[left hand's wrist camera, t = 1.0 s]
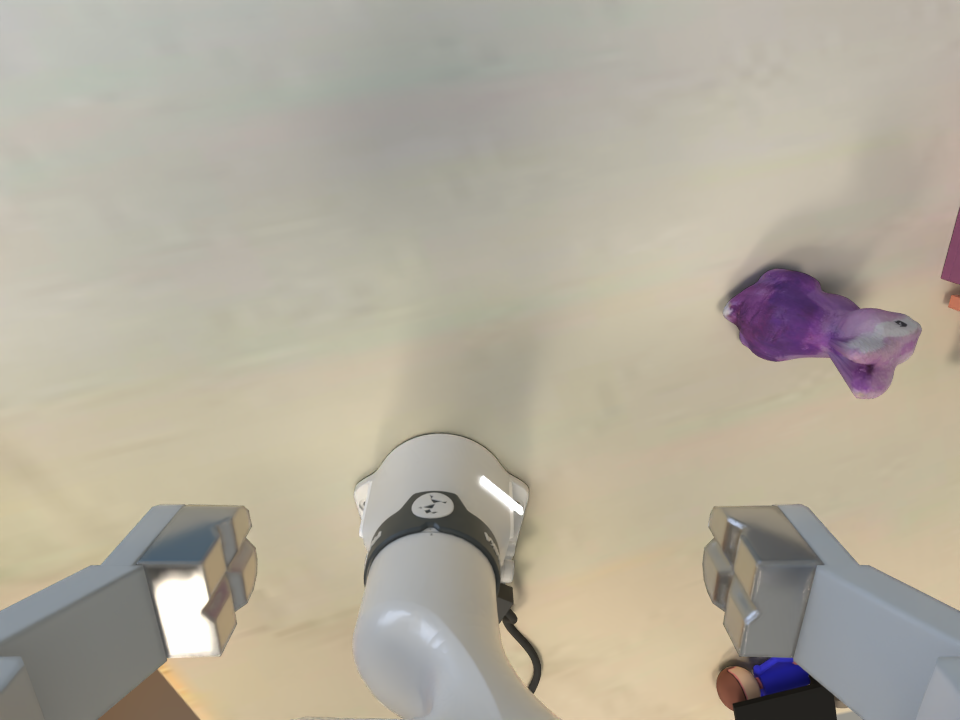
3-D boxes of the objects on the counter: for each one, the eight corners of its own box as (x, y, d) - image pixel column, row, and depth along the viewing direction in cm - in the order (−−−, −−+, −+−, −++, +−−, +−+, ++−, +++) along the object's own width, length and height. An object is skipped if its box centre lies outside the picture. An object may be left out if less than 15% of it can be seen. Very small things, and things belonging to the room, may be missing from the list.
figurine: (855, 304, 56) (979, 361, 42) (764, 372, 59) (853, 447, 45) (802, 231, 54) (915, 267, 40) (709, 305, 56) (785, 363, 42)
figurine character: (821, 621, 72) (705, 659, 72) (865, 672, 65) (737, 714, 65) (826, 660, 74) (713, 697, 74) (869, 713, 67) (745, 754, 67)
